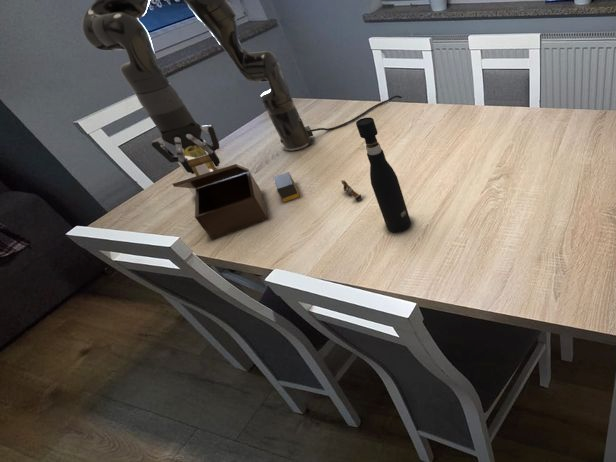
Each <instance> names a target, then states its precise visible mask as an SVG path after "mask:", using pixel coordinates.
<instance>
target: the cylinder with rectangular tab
mask: <svg viewBox="0 0 616 462" xmlns="http://www.w3.org/2000/svg"><path fill="white" fill-rule="evenodd" d="M185 158H187V159H188V160H190V159H194V157H189V156H185ZM177 164H178V165H179V167H180V168H181V169H182V171H183V172H184V173H185V175H186V176H187V177H186V178H185V180H186V179H189V178H192V177H196V175H195V173H194V174H191V172H190V173H188V172H187V171H186V170H185V168H184V167H183V165H182V164H181V163H180V162H177ZM196 169H197V171H198V173H199V175H202V174H205V173H209V172H212V171H213V170H212V169H208V167H207V166H206V164H203V165H199V166H196ZM211 184H212V183H211ZM208 185H209V184H208ZM205 186H206V185H205ZM202 187H203V186H202ZM199 188H200V187H199ZM188 189H189V191H190V192H191V193H192V195H193V197H195V190H196V189H193V188H188Z"/></svg>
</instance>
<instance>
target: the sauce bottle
mask: <svg viewBox="0 0 616 462" xmlns="http://www.w3.org/2000/svg"><path fill="white" fill-rule="evenodd" d="M207 154H208V153H207V152H206V151H205V150H204V149H202V148H200V147H199V146H198V145H195V146H189V147H187V148H185V149H184V155H185V156H189V157H194V158H197V157H201V156H204V155H207ZM206 166H207V167H208V169H212V168H211V166H210V164H209V163H206Z"/></svg>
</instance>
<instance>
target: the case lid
mask: <svg viewBox="0 0 616 462" xmlns="http://www.w3.org/2000/svg"><path fill="white" fill-rule="evenodd" d="M206 154H207V155H204V156H201V157H197V158H194V159H190V160H187V162H188V164H189V166H190V167H191V168H192V169H193V171H194V173H195V175H196V177H192V178H189V179H186V178H185V179H184V180H180V181H177V182H174V183H172V186H173V187H174V188H183V189H184V188H185V189H189V188H193V189H196V188H199V187H202V186H205V185H208V184H211V183H215V182H218V181H221V180H224V179H228V178H231V177H234V176H237V175H240V174H243V173H247V172H249V171H250V169H249V168H247V167H245V166H242V165H240V164H237V163H234V164H231V165H228V166H224V167H222V168H218V169H217V167H216V166H215V165H214V163H213V162H212V160H211V158H210V157H209V155H208V153H206ZM206 163H209V164H210V166H211V168H212V170H213V171H212V172H209V173H205V174H202V175H199V173H198V171H197V169H196V166H199V165H203V164H206Z"/></svg>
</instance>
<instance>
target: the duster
mask: <svg viewBox="0 0 616 462" xmlns="http://www.w3.org/2000/svg"><path fill="white" fill-rule="evenodd" d="M273 181H274V184H275V187H276V190H277V192H278V194H279V196H280V198H281V199H282V201H283V202H284V203H286V202H288V201H291V200H295V199H297V198H300V194H299V191H298V188H297V185H296V183H295V181H294V179H293V178H292V175H291V173H290V172H289V171H287V172H284V173H281V174H278V175H275V176H273Z"/></svg>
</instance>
